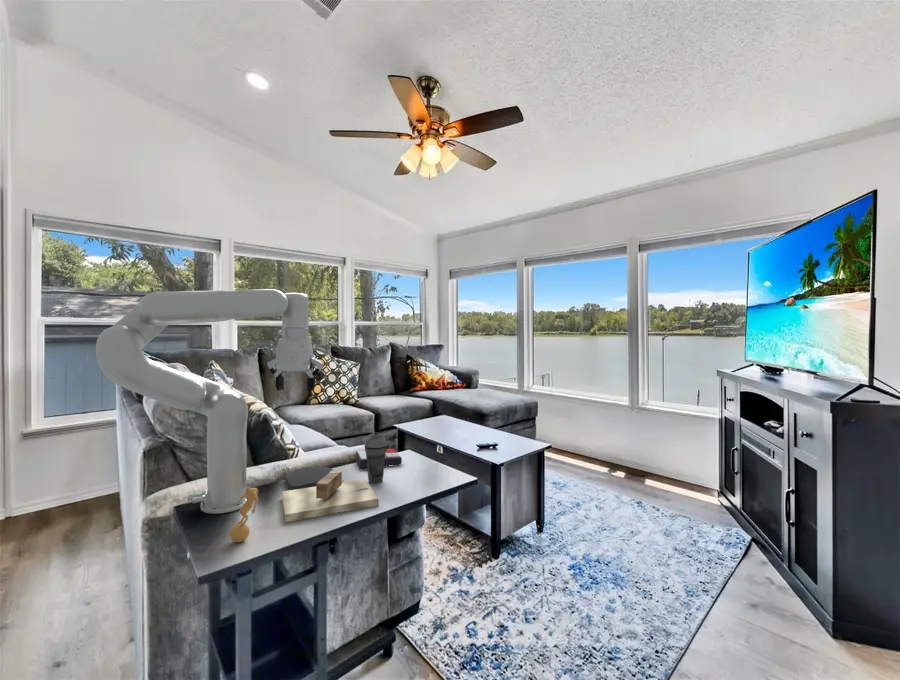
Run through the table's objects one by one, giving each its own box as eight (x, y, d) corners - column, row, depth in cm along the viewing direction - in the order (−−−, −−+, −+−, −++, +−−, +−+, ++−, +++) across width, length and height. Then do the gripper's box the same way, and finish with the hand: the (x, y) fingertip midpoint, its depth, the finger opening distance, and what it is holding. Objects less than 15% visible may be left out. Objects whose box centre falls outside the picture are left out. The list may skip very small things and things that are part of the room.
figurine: (223, 538, 93) (223, 487, 93) (250, 528, 97) (250, 480, 97) (237, 551, 87) (237, 497, 87) (265, 540, 92) (265, 489, 92)
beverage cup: (384, 485, 125) (385, 422, 125) (361, 485, 125) (362, 422, 125) (388, 477, 132) (389, 417, 132) (367, 476, 133) (367, 417, 132)
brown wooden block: (326, 502, 108) (326, 483, 108) (316, 501, 108) (316, 483, 108) (341, 487, 118) (341, 470, 118) (331, 487, 118) (331, 470, 118)
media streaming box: (283, 479, 131) (283, 470, 131) (328, 472, 138) (328, 463, 138) (290, 495, 118) (290, 485, 118) (339, 486, 125) (340, 476, 125)
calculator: (402, 455, 145) (360, 458, 140) (401, 467, 145) (359, 470, 140) (394, 447, 155) (355, 449, 150) (394, 458, 155) (355, 460, 150)
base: (285, 522, 101) (285, 514, 101) (281, 496, 117) (281, 488, 117) (378, 505, 111) (378, 497, 111) (363, 483, 127) (363, 476, 127)
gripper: (261, 333, 118) (261, 391, 119) (318, 334, 117) (317, 392, 117) (274, 333, 126) (274, 387, 126) (327, 334, 124) (327, 389, 125)
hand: (295, 390), depth 122 cm, fingers open, 9 cm apart
